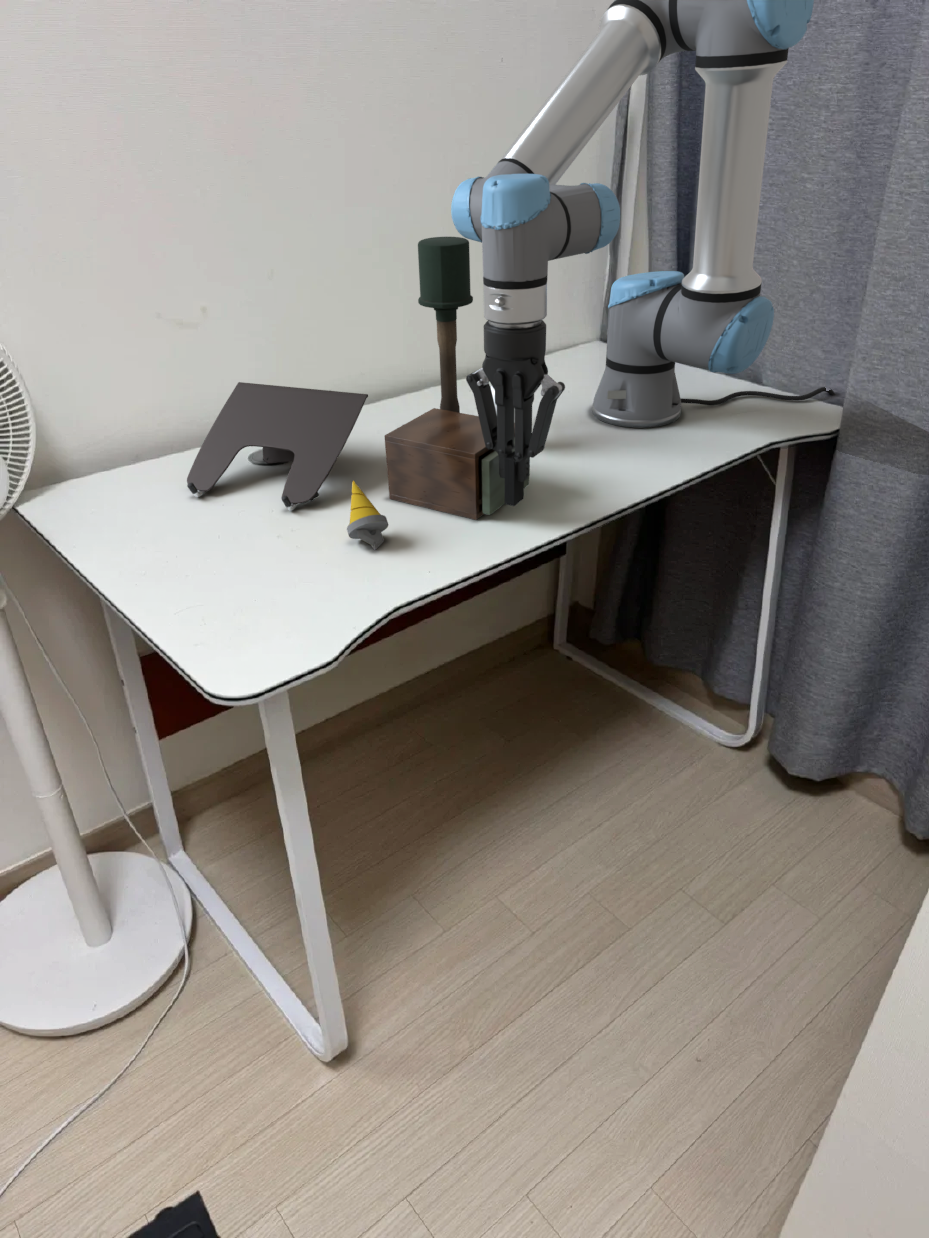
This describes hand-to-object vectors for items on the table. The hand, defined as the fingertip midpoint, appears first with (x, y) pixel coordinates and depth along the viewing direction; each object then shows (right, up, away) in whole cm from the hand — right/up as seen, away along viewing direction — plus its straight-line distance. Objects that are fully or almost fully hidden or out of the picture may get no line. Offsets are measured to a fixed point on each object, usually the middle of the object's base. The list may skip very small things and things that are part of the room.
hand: (514, 501), depth 115 cm
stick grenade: (-9, +16, +31) cm, 36 cm away
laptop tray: (-35, +5, +16) cm, 39 cm away
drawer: (-5, +3, +8) cm, 10 cm away
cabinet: (-8, +3, +10) cm, 13 cm away
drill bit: (-20, -6, -2) cm, 21 cm away
